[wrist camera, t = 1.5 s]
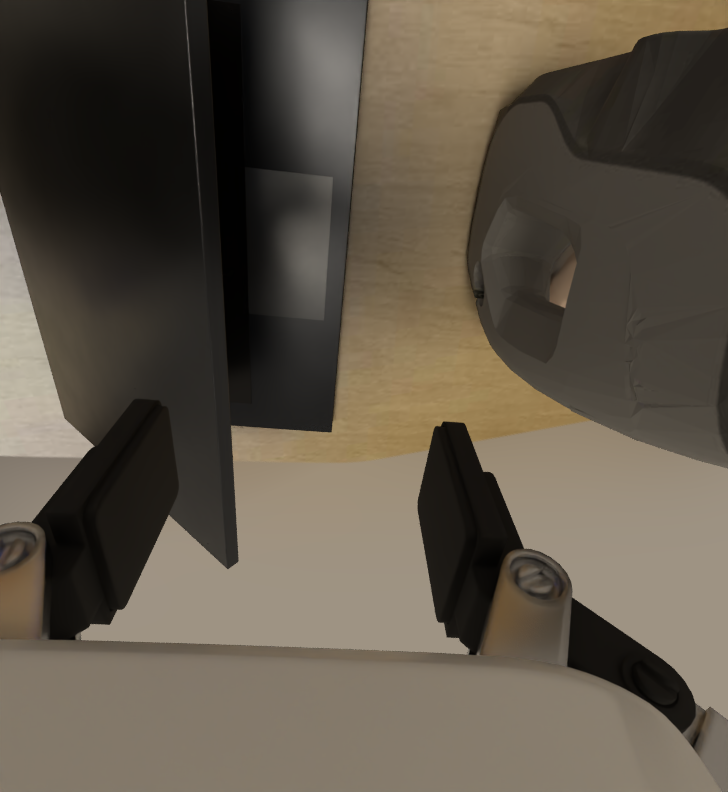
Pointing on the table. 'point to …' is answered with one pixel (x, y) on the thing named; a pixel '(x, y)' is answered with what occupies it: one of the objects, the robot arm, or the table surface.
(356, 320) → the table surface
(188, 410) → the laptop screen
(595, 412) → the handheld device
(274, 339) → the laptop
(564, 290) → the garlic bulb
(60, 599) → the robot arm
